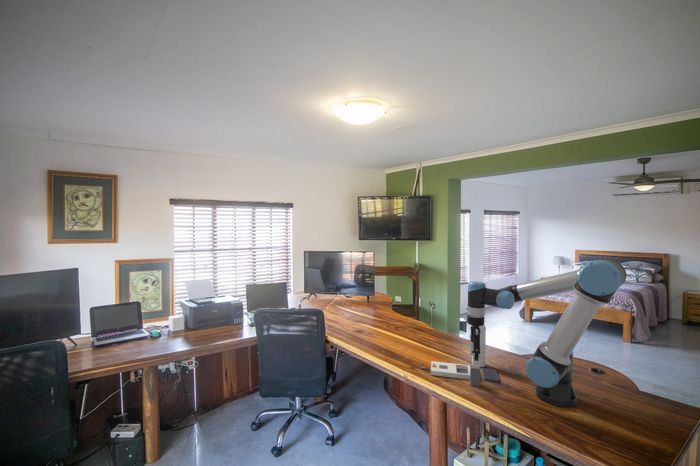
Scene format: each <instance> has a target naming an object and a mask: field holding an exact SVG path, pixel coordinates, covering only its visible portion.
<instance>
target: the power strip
mask: <svg viewBox="0 0 700 466" xmlns="http://www.w3.org/2000/svg"><path fill="white" fill-rule="evenodd" d="M470 365H471V364H461V363H451V362H444V361H441V362H440V361H434V360H431V363H430V367H427V366H425V367H424V366H420V367H419V369H420V370H428V371H430V375H431V376H437V377H444V378H454V379H460V380H469V381H470Z"/></svg>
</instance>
